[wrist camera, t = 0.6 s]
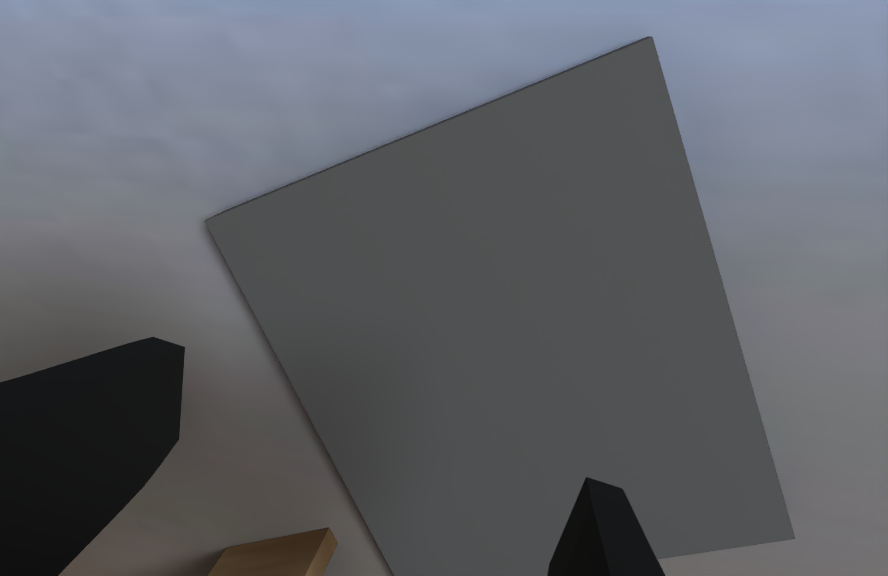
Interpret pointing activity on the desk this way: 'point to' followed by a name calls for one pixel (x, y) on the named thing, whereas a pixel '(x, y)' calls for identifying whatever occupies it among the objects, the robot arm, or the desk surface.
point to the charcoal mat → (516, 328)
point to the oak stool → (279, 556)
